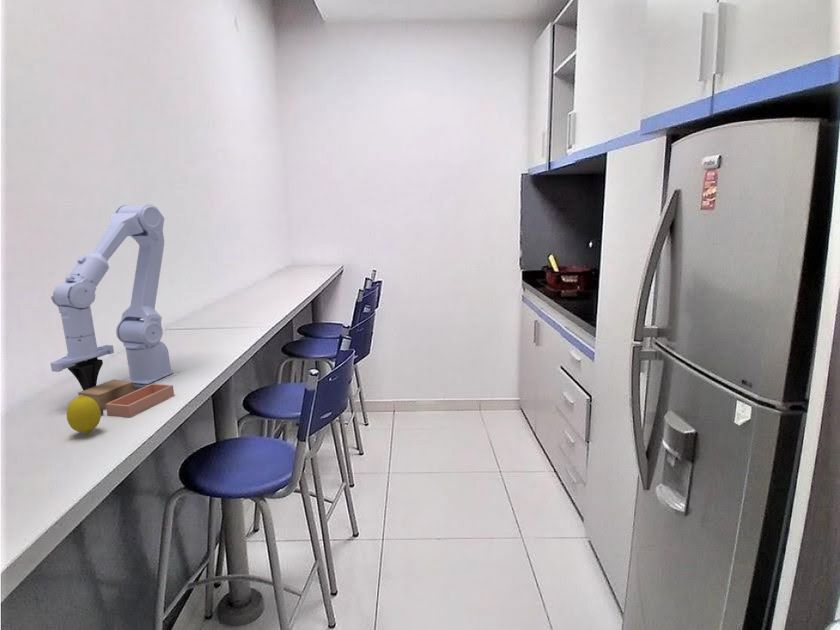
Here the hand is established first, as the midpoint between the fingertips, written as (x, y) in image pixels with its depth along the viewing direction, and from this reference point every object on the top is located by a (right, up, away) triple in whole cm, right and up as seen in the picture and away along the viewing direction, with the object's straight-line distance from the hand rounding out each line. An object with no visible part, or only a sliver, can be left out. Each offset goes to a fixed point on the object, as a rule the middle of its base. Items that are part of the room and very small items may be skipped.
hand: (89, 391), depth 121 cm
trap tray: (+14, -2, -4) cm, 15 cm away
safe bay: (+6, -2, -1) cm, 7 cm away
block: (+5, -2, -2) cm, 6 cm away
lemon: (+11, -6, -18) cm, 22 cm away
